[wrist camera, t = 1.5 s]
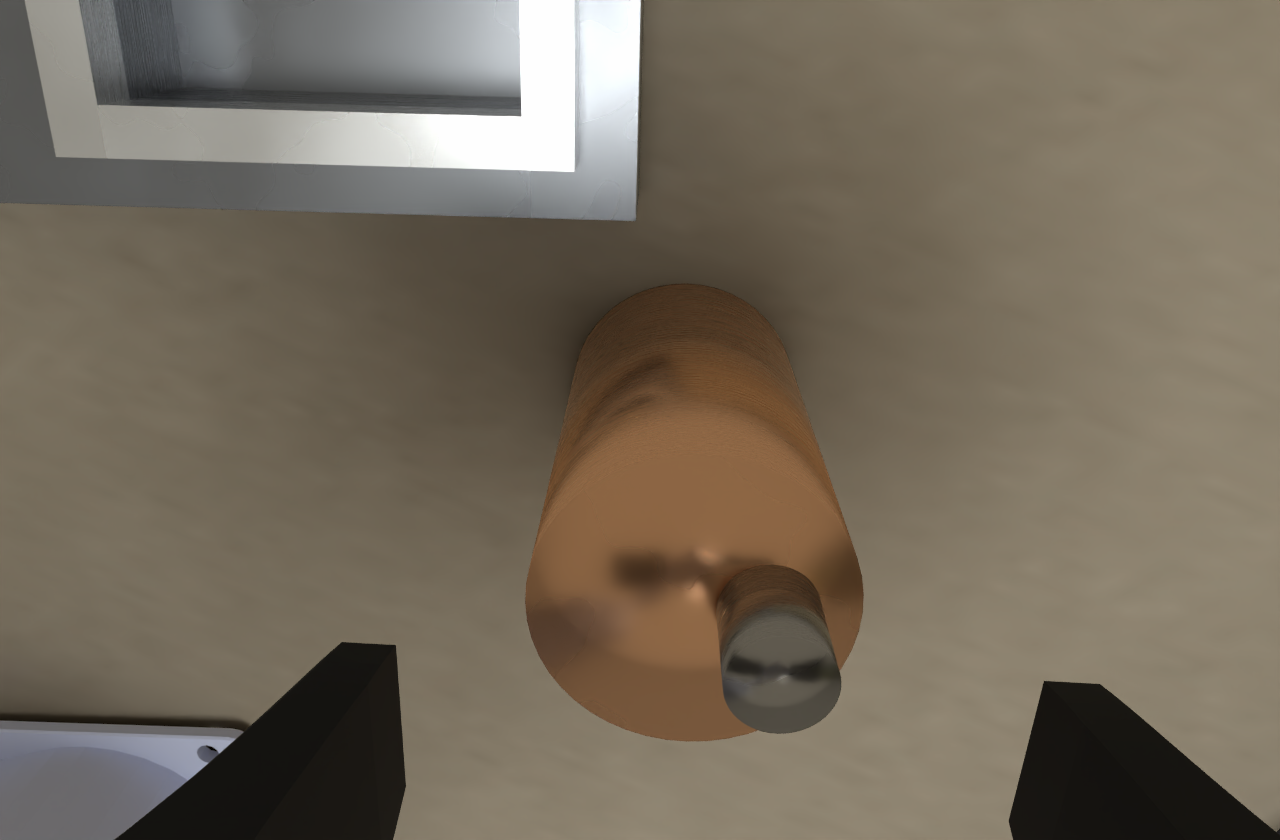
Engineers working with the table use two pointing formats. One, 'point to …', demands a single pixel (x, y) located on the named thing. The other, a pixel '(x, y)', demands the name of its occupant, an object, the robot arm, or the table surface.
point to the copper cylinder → (692, 530)
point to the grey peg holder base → (324, 105)
